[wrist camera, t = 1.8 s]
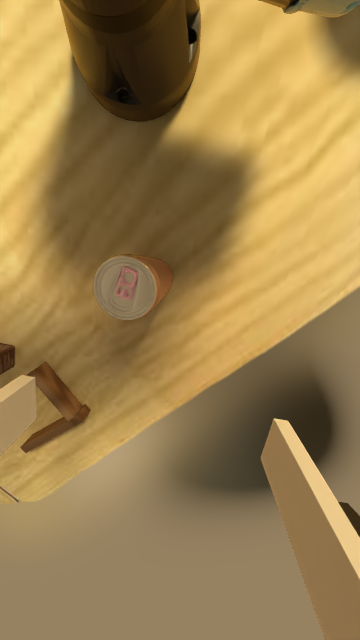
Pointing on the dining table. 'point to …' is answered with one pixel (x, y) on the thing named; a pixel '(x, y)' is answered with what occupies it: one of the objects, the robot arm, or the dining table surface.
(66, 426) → the corner fence
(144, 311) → the beverage can
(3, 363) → the box
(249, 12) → the dining table surface
